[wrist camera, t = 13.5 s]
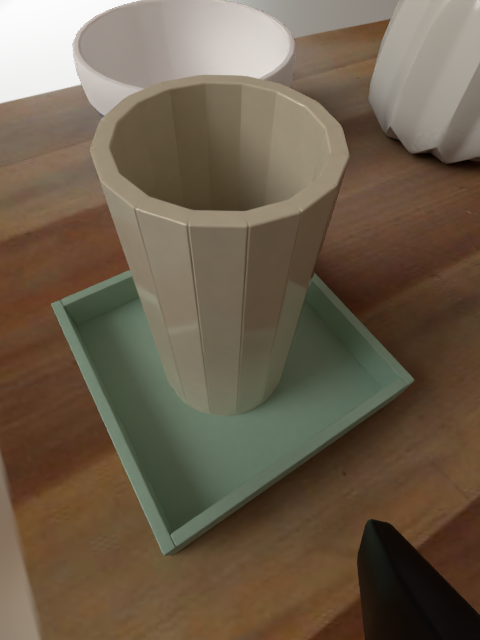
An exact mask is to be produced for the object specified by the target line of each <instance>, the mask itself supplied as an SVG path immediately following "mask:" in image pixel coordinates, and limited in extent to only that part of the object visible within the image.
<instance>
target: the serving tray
mask: <svg viewBox="0 0 480 640" xmlns="http://www.w3.org/2000/svg"><path fill="white" fill-rule="evenodd" d="M51 305H52V307H53V310H54V312H55V314H56V316H57V319H58V321H59V323H60V325H61V328H62V330H63V332H64V334H65V337H66V339H67V341H68V343H69V345H70V348H71V350H72V352H73V354H74V357H75V359H76V361H77V363H78V366H79V368H80V370H81V372H82V375H83V377H84V379H85V381H86V383H87V386H88V388H89V390H90V392H91V395H92V397H93V399H94V401H95V404H96V406H97V408H98V410H99V413H100V415H101V417H102V419H103V421H104V424H105V426H106V428H107V430H108V433H109V435H110V437H111V439H112V442H113V444H114V446H115V448H116V451H117V453H118V455H119V457H120V459H121V462H122V464H123V466H124V468H125V471H126V473H127V475H128V477H129V480H130V482H131V484H132V486H133V489H134V491H135V493H136V495H137V497H138V500H139V502H140V504H141V506H142V509H143V511H144V513H145V515H146V518H147V520H148V522H149V524H150V527H151V529H152V531H153V533H154V535H155V538H156V540H157V542H158V544H159V547H160V549H161V551H162V553H163V555H166V556H173V555H174V554H176V553H177V552H179V551H180V550H181V549H183V548H184V547H186V546H187V545H189V544H190V543H191V542H193V541H194V540H196V539H197V538H198V537H200V536H201V535H203V534H204V533H206V532H207V531H208V530H210V529H211V528H213V527H214V526H216V525H217V524H218V523H220V522H221V521H223V520H224V519H225V518H227V517H228V516H230V515H231V514H233V513H234V512H235V511H237V510H238V509H240V508H241V507H242V506H244V505H245V504H247V503H248V502H250V501H251V500H252V499H254V498H255V497H257V496H258V495H259V494H261V493H262V492H264V491H265V490H267V489H268V488H269V487H271V486H272V485H274V484H275V483H277V482H278V481H279V480H281V479H282V478H284V477H285V476H286V475H288V474H289V473H291V472H292V471H294V470H295V469H296V468H298V467H299V466H301V465H302V464H303V463H305V462H306V461H308V460H309V459H311V458H312V457H313V456H315V455H316V454H318V453H319V452H320V451H322V450H323V449H325V448H326V447H328V446H329V445H330V444H332V443H333V442H335V441H336V440H337V439H339V438H340V437H342V436H343V435H345V434H346V433H347V432H349V431H350V430H352V429H353V428H355V427H356V426H357V425H359V424H360V423H362V422H363V421H364V420H366V419H367V418H369V417H370V416H372V415H373V414H374V413H376V412H377V411H379V410H380V409H381V408H383V407H384V406H386V405H387V404H389V403H390V402H391V401H393V400H394V399H396V398H397V397H398V396H399V395H400V394H401V393H402V392H403V391H404V390H405V389H406V388H407V387H408V386H409V385H411V384H412V383H413V382H414V378H413V377H412V376H411V375H410V374H409V373H408V372H407V371H406V370H405V369H404V368H403V367H402V366H401V365H400V363H399V362H398V361H397V360H396V359H395V358H394V357H393V356H392V355H391V354H390V353H389V352H388V351H387V350H386V348H385V347H384V346H383V345H382V344H381V343H380V342H379V341H378V340H377V339H376V338H375V337H374V336H373V335H372V334H371V332H370V331H369V330H368V329H367V328H366V327H365V326H364V325H363V324H362V323H361V322H360V321H359V320H358V319H357V318H356V316H355V315H354V314H353V313H352V312H351V311H350V310H349V309H348V308H347V307H346V306H345V305H344V304H343V303H342V302H341V300H340V299H339V298H338V297H337V296H336V295H335V294H334V293H333V292H332V291H331V290H330V289H329V288H328V287H327V285H326V284H325V283H324V282H323V281H322V280H321V279H320V278H319V277H318V276H317V275H316V274H315V273H314V276H313V279H312V282H311V285H310V289H309V292H308V295H307V299H306V302H305V305H304V308H303V312H302V315H301V318H300V321H299V325H298V328H297V331H296V335H295V338H294V341H293V344H292V348H291V351H290V354H289V357H288V361H287V364H286V367H285V369H284V372H283V375H282V378H281V381H280V383H279V385H278V387H277V388H276V390H275V391H274V393H273V394H272V395H271V396H270V397H269V398H268V399H267V400H266V401H265V402H264V403H263V404H261V405H260V406H258V407H256V408H255V409H252V410H250V411H248V412H245V413H242V414H238V415H233V416H214V415H210V414H205V413H202V412H200V411H197V410H195V409H193V408H191V407H190V406H188V405H187V404H185V403H184V402H183V401H182V400H181V399H180V398H179V397H178V396H177V395H176V394H175V393H174V391H173V390H172V388H171V386H170V385H169V383H168V380H167V377H166V374H165V372H164V369H163V366H162V363H161V360H160V357H159V354H158V351H157V348H156V345H155V342H154V339H153V336H152V333H151V330H150V327H149V324H148V322H147V319H146V316H145V313H144V310H143V307H142V304H141V301H140V298H139V295H138V292H137V289H136V286H135V283H134V280H133V277H132V275H131V272H130V270H129V271H127V272H124V273H122V274H119V275H117V276H115V277H112V278H110V279H108V280H105V281H103V282H101V283H98V284H96V285H94V286H91V287H89V288H87V289H84V290H82V291H80V292H77V293H75V294H73V295H70V296H68V297H66V298H63V299H61V300H59V301H56V302H54V303H52V304H51Z"/></svg>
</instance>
